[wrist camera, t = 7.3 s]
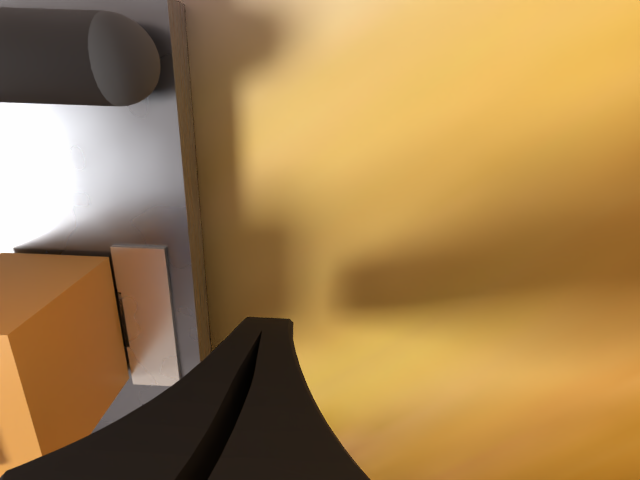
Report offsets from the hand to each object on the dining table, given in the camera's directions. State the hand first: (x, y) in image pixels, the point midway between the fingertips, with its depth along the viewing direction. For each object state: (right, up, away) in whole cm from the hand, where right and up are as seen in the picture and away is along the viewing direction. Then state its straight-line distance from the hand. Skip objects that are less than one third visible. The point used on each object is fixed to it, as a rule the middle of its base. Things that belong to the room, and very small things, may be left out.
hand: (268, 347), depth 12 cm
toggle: (-6, +1, +1) cm, 6 cm away
